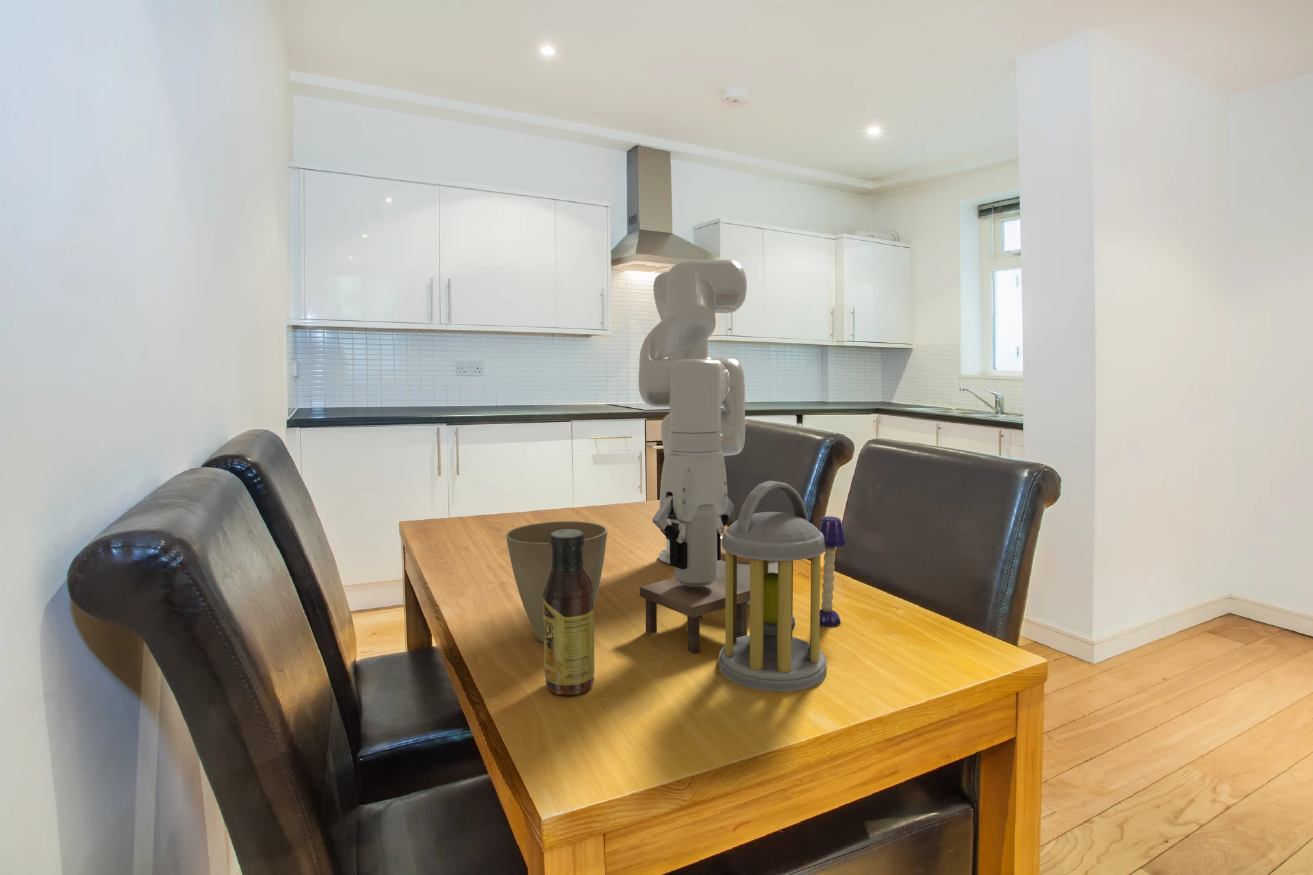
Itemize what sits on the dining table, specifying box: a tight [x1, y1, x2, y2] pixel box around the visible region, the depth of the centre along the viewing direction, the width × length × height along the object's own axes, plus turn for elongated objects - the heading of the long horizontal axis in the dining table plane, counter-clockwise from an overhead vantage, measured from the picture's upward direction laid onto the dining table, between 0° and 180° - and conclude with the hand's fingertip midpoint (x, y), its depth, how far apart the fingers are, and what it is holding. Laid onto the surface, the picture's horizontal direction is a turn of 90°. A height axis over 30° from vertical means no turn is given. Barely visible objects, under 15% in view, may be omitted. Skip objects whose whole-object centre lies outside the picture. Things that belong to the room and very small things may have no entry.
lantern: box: [718, 480, 828, 693], centre depth 88 cm, size 14×14×25 cm
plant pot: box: [505, 520, 608, 643], centre depth 101 cm, size 15×15×16 cm
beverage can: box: [674, 504, 717, 586], centre depth 100 cm, size 6×6×12 cm
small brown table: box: [639, 577, 750, 655], centre depth 101 cm, size 12×12×7 cm
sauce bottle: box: [543, 529, 595, 696], centre depth 83 cm, size 6×6×20 cm
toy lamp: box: [817, 515, 846, 627], centre depth 105 cm, size 5×5×17 cm
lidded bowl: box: [717, 542, 778, 606], centre depth 117 cm, size 13×13×11 cm
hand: (695, 561), depth 101 cm, fingers closed on beverage can, 6 cm apart
